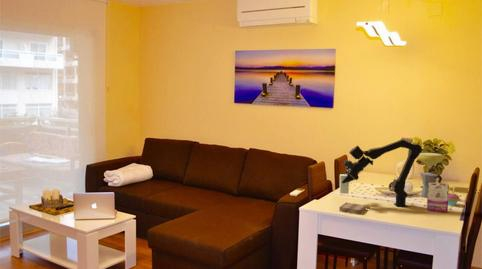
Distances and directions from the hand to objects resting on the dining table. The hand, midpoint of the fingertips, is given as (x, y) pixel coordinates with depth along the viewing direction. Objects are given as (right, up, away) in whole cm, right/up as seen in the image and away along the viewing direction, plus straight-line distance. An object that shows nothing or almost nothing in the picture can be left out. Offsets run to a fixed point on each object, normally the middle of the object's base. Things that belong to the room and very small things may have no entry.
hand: (341, 182), depth 274 cm
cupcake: (+67, -14, 0) cm, 69 cm away
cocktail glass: (+73, -9, +45) cm, 86 cm away
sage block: (+1, -7, +1) cm, 7 cm away
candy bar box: (+53, -16, -14) cm, 57 cm away
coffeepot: (+62, -12, +19) cm, 66 cm away
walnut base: (+3, -15, -14) cm, 21 cm away
